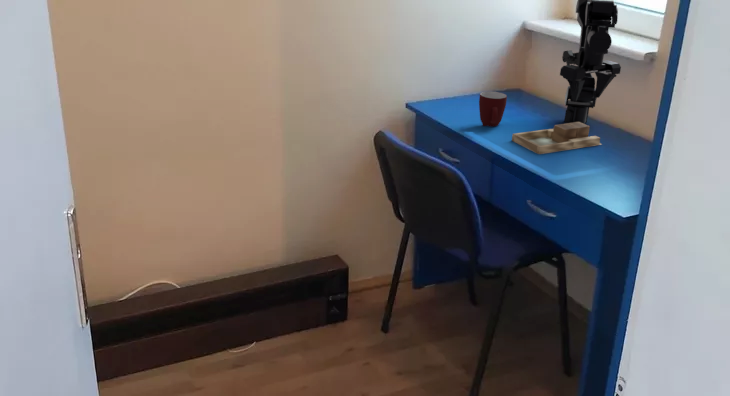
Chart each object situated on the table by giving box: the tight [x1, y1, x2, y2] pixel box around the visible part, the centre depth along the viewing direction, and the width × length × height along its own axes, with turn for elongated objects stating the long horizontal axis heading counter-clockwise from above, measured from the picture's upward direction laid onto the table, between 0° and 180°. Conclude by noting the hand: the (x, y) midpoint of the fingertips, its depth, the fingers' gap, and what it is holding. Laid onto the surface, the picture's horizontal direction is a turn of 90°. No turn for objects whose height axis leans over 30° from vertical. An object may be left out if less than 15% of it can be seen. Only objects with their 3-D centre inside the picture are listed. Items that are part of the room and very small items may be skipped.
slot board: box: [511, 128, 603, 155], centre depth 210 cm, size 23×12×3 cm, turn 117°
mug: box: [478, 90, 508, 127], centre depth 222 cm, size 11×8×10 cm
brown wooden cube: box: [552, 122, 577, 143], centre depth 211 cm, size 4×4×4 cm
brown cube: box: [567, 122, 591, 138], centre depth 213 cm, size 4×4×4 cm
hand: (585, 99), depth 212 cm, fingers open, 9 cm apart
